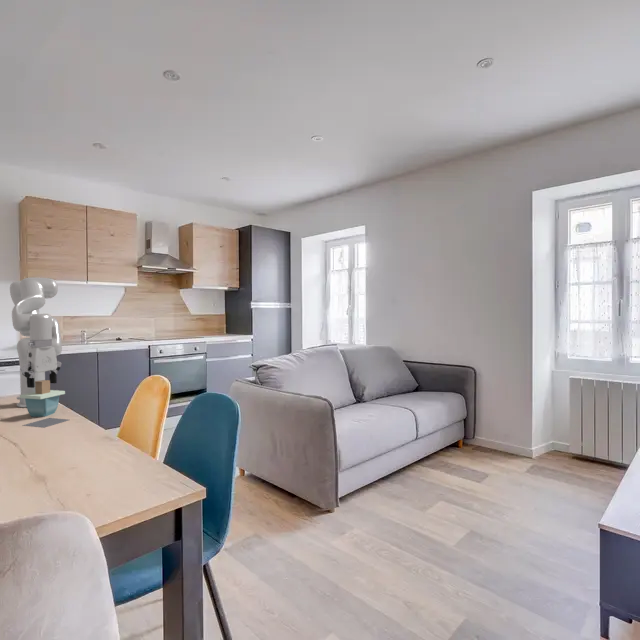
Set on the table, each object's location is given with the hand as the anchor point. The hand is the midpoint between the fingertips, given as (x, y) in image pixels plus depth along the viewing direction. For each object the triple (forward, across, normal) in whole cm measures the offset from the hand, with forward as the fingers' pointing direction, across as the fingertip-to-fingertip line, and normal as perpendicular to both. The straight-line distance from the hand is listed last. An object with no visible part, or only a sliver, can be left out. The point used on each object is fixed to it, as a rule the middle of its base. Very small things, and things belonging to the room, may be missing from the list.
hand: (42, 385), depth 167 cm
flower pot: (+14, 0, 0) cm, 14 cm away
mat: (+13, -8, -12) cm, 20 cm away
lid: (+4, 0, 0) cm, 4 cm away
